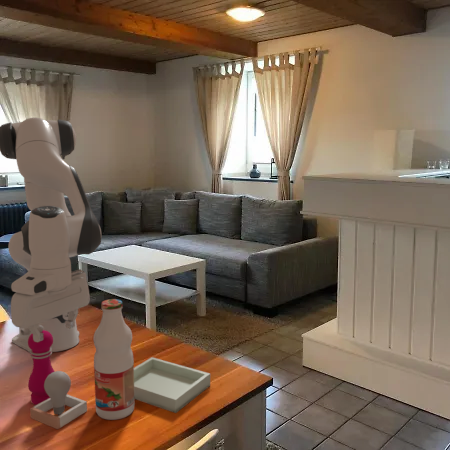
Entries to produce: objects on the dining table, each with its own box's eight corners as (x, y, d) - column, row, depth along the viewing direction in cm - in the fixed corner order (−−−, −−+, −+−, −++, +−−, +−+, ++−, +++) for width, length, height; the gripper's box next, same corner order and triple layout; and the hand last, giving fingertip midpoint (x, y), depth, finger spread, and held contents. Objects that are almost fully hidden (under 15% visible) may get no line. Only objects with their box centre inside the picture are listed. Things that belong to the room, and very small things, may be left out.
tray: (114, 392, 131) (113, 379, 131) (152, 368, 145) (152, 357, 144) (175, 413, 121) (175, 399, 121) (210, 385, 135) (210, 373, 134)
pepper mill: (35, 391, 131) (31, 320, 128) (62, 392, 131) (59, 320, 128) (24, 406, 124) (19, 330, 121) (52, 407, 124) (48, 331, 120)
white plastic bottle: (141, 412, 122) (139, 303, 117) (106, 425, 116) (102, 311, 111) (123, 396, 129) (120, 293, 124) (89, 408, 123) (84, 300, 118)
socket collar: (30, 418, 119) (30, 408, 118) (60, 400, 127) (60, 391, 126) (57, 429, 114) (57, 419, 114) (87, 410, 122) (86, 401, 122)
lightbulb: (64, 422, 117) (62, 379, 115) (40, 419, 118) (38, 376, 116) (77, 409, 123) (75, 367, 121) (54, 406, 124) (52, 365, 122)
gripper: (75, 266, 125) (78, 318, 127) (4, 286, 108) (9, 346, 110) (94, 269, 122) (96, 322, 124) (23, 290, 104) (28, 352, 107)
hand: (55, 334), depth 117 cm, fingers open, 8 cm apart
